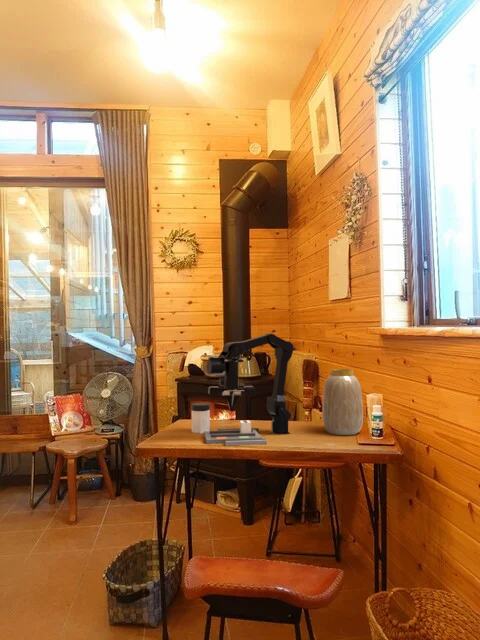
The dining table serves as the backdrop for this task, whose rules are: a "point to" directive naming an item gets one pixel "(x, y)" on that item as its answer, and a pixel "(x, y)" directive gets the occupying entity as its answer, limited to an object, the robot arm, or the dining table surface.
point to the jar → (200, 417)
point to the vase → (342, 403)
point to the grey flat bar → (245, 442)
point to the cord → (239, 429)
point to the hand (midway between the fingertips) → (231, 411)
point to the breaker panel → (228, 436)
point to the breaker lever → (245, 426)
